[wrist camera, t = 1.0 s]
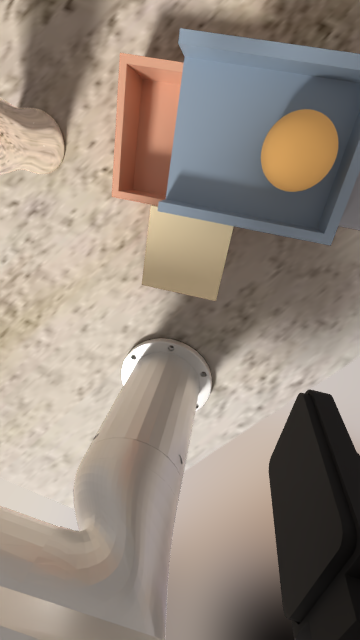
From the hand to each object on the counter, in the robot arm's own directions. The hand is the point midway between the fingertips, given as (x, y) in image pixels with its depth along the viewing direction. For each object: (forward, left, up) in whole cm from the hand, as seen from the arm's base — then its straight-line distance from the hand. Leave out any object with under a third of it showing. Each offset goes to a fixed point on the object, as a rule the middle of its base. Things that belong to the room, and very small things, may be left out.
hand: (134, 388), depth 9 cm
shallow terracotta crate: (+8, +4, -27) cm, 29 cm away
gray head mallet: (+5, -6, -20) cm, 21 cm away
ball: (+8, -5, -13) cm, 16 cm away
